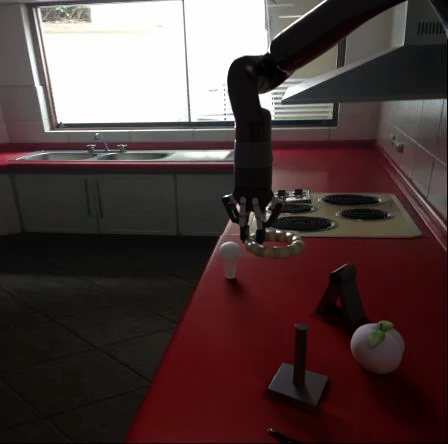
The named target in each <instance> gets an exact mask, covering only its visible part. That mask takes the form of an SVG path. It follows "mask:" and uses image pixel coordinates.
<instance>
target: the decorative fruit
mask: <svg viewBox="0 0 448 444" xmlns="http://www.w3.org/2000/svg"><path fill="white" fill-rule="evenodd" d="M394 327H395V325H394V324H393V322H391V321H389V320H380V321H378V322H377V323H366V324H363V325H361V326H359V327H358V328H357V329H356V330H355V332H354V333H353V334H352V337H351V341H350V350H351V353H352V356H353V357H354V359H355V360H356V362H357V363H358V364H359V365H360V366H361V367H362V368H363V369H364V370H365V371H367V372H369V373H371V374H375V375H387V374H390V373H392V372H394V371H395V370H396V369H397V368H399V366H400V364H401V363H402V360H403V355H404V351H405V341H404V338H403V337H402V335H401V334H400V332H399V331H397V329H396V328H394Z"/></svg>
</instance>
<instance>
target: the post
mask: <svg viewBox="0 0 448 444" xmlns="http://www.w3.org/2000/svg"><path fill="white" fill-rule="evenodd" d="M308 334H309V326H308V325H307V324H305V323H301V322H299V323H296V324H295V325H294V341H293V359H292V361H293V364H289V363H285V362H282V364H281V365H280V367H279V368H278V371H277V372H276V373H275V375H274V376H273V379H272V381H270V382H271V383H270V384H269V386H268V387H267V396H268V397H269V398H272V399H275V400H278V401H281V402H284V403H286V404H289V405H292V406H295V407H298V408H300V409H303V410H306V411H308V412H311V413H314V414H317V412H318V410H319V407H320V404H321V402H322V400H321V398H322V395H323V393H324V391H325V389H326V385H327V384H328V381H329V376H328V375H324V374H320V373H317V372H314V371H311V370H307V369H306V368H307V354H308V353H307V351H308Z"/></svg>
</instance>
